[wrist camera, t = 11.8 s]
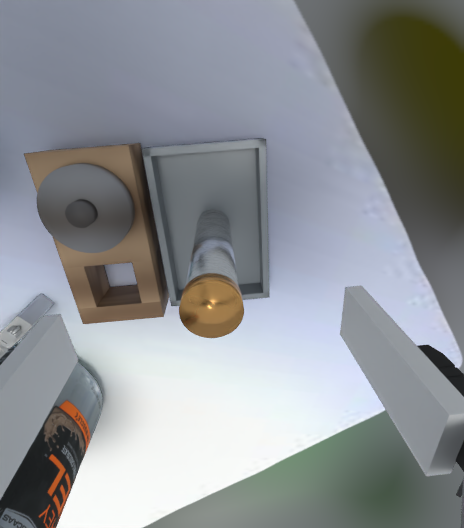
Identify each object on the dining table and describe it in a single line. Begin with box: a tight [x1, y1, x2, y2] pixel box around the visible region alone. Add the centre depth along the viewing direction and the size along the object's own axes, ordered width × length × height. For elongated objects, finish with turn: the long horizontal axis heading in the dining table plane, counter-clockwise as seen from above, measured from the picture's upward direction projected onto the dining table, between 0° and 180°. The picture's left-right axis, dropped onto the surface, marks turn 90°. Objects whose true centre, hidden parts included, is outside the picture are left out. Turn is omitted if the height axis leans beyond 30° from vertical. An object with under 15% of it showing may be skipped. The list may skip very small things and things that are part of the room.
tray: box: [142, 138, 269, 306], centre depth 29 cm, size 15×10×3 cm
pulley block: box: [24, 143, 169, 324], centre depth 27 cm, size 16×8×7 cm, turn 4°
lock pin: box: [179, 209, 244, 338], centre depth 22 cm, size 3×3×15 cm
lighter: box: [0, 294, 54, 358], centre depth 30 cm, size 7×2×8 cm, turn 131°
